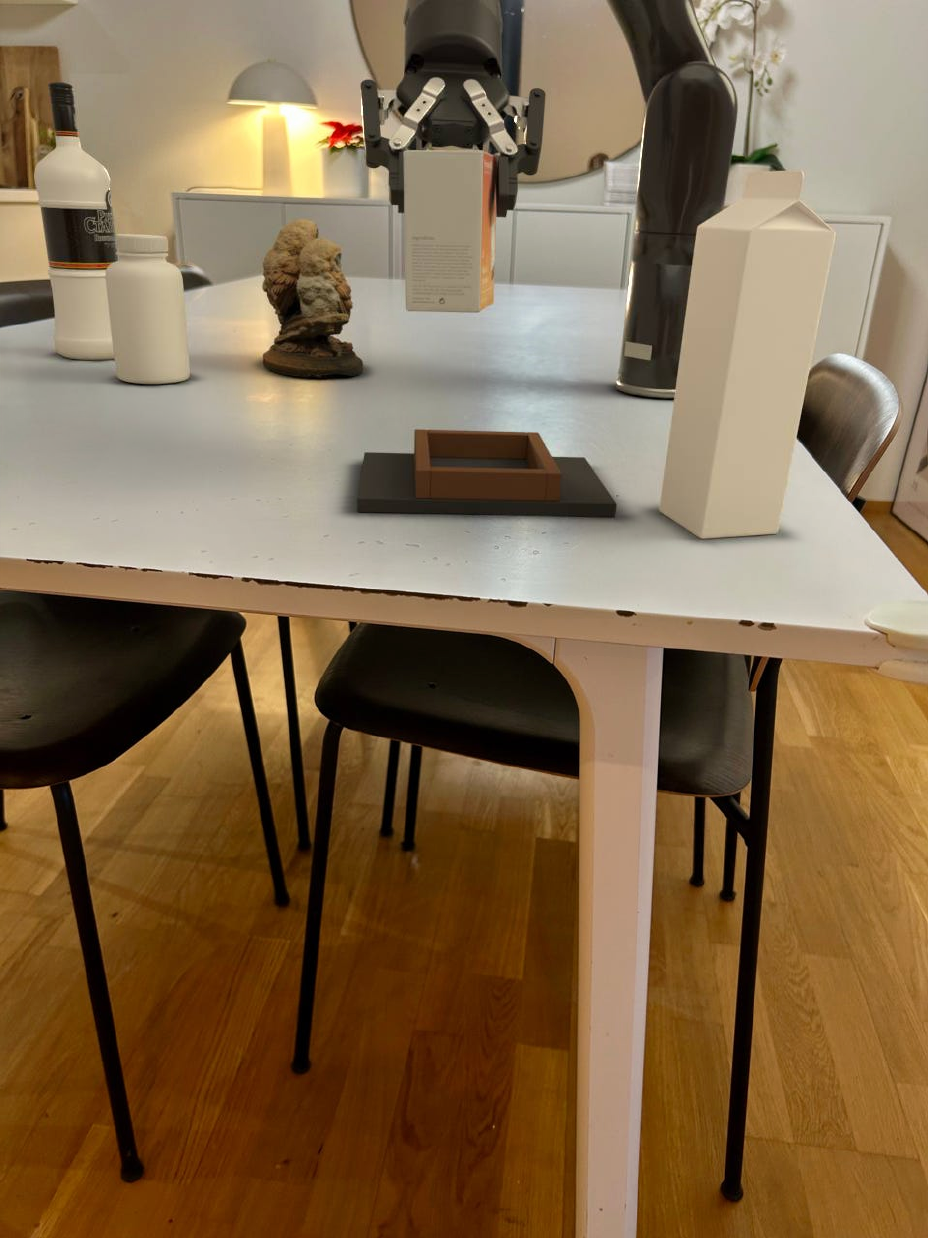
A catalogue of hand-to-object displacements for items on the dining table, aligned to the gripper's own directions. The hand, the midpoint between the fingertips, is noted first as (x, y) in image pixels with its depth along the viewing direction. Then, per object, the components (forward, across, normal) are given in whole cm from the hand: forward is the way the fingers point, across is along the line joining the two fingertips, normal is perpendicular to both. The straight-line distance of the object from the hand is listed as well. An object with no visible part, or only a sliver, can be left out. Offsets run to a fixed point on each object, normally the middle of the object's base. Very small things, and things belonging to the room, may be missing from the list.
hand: (452, 205), depth 64 cm
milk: (+22, -19, -6) cm, 29 cm away
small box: (+4, 0, -6) cm, 7 cm away
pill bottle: (-11, +32, -38) cm, 51 cm away
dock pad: (+17, -3, -10) cm, 20 cm away
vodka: (-21, +43, -49) cm, 69 cm away
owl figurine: (-18, +15, -46) cm, 51 cm away
